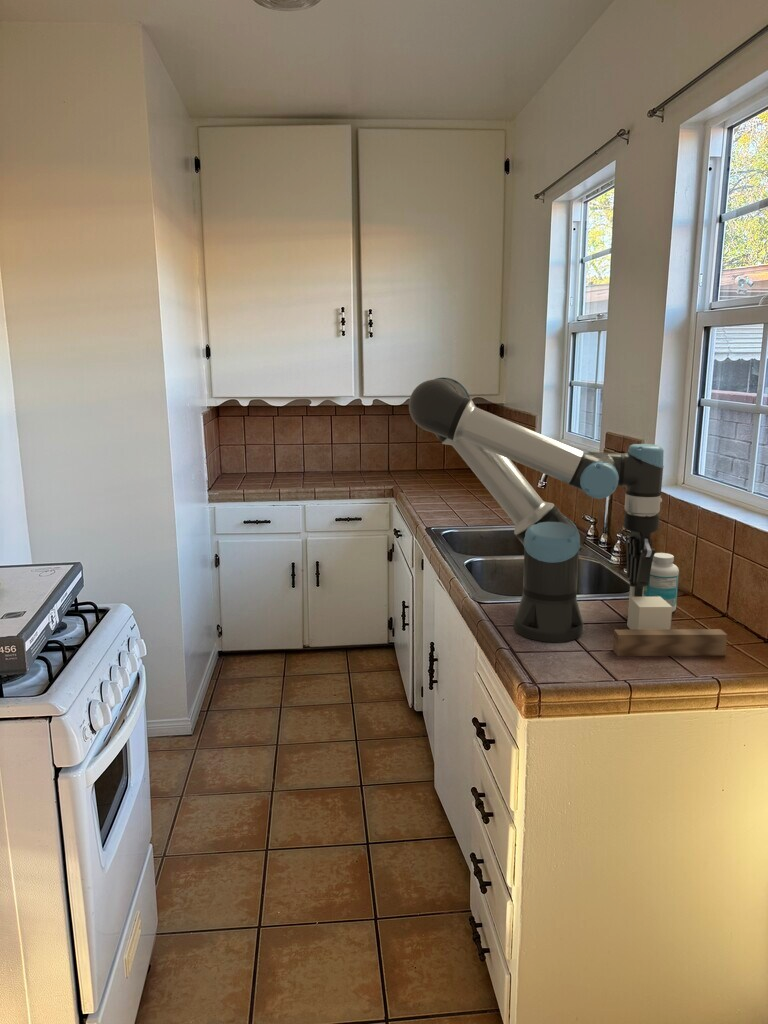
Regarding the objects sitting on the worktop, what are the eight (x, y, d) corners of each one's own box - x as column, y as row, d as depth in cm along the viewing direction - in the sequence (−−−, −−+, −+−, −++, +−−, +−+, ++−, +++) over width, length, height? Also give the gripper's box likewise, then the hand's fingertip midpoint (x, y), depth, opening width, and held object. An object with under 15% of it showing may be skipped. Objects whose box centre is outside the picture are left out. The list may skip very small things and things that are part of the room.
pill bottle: (649, 602, 181) (653, 549, 179) (680, 608, 177) (684, 554, 174) (638, 610, 176) (642, 555, 173) (669, 616, 171) (674, 561, 168)
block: (637, 637, 159) (639, 607, 157) (627, 626, 166) (629, 596, 164) (669, 637, 159) (672, 606, 157) (658, 625, 166) (660, 596, 164)
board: (617, 655, 149) (618, 635, 148) (612, 650, 152) (614, 629, 151) (725, 655, 149) (727, 634, 148) (718, 649, 152) (720, 629, 151)
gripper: (669, 518, 159) (661, 621, 164) (648, 506, 172) (641, 602, 177) (635, 519, 159) (628, 621, 164) (616, 507, 172) (610, 602, 177)
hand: (635, 611), depth 171 cm, fingers closed
